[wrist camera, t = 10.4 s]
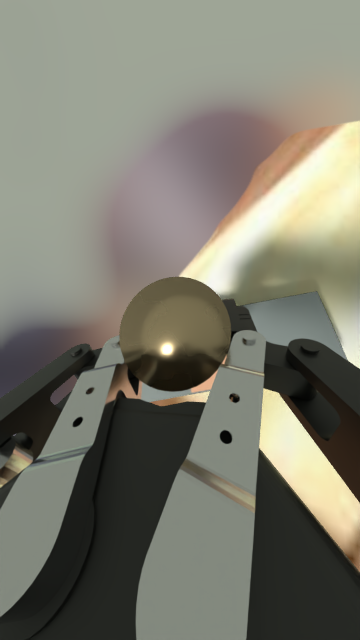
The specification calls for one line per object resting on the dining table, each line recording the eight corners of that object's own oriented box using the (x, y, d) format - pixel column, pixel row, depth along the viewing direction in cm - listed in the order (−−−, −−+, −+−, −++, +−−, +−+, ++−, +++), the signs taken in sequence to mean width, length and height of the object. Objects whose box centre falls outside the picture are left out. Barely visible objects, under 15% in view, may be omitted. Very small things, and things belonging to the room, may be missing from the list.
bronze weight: (217, 317, 15) (215, 264, 6) (229, 366, 14) (246, 381, 5) (171, 328, 16) (115, 292, 7) (179, 374, 14) (123, 399, 6)
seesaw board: (310, 294, 23) (318, 290, 22) (341, 365, 21) (351, 365, 19) (135, 328, 24) (131, 325, 22) (143, 401, 21) (139, 403, 20)
